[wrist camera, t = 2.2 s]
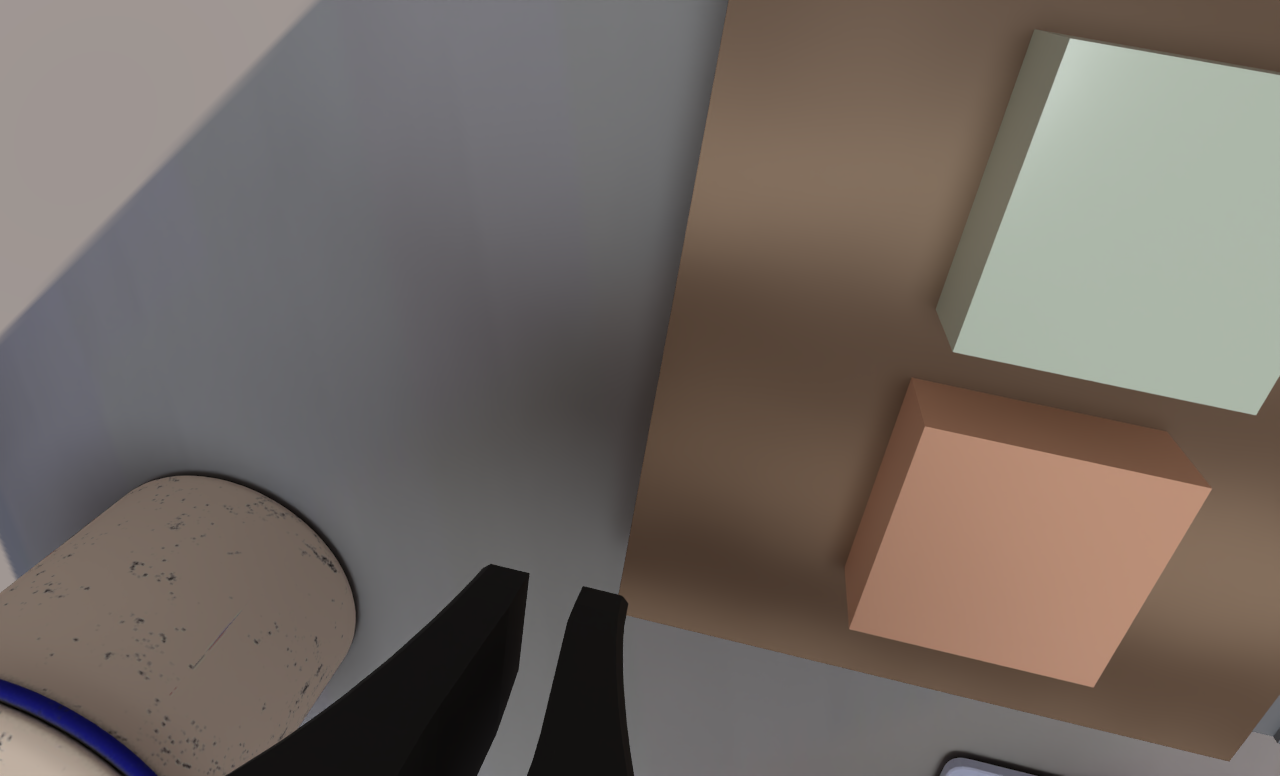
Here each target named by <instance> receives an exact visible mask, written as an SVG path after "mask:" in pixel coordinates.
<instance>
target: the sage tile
mask: <svg viewBox="0 0 1280 776" xmlns="http://www.w3.org/2000/svg"><path fill="white" fill-rule="evenodd" d="M936 311H937V314H938V316H939V319H940V321H941V324H942V326H943V329H944V331H945V334H946V336H947V339H948V341H949V344H950V346H951V349H952V351H953V352H955V353H960V354H965V355H969V356H974V357H979V358H984V359H989V360H993V361H998V362H1003V363H1008V364H1013V365H1017V366H1022V367H1027V368H1032V369H1036V370H1041V371H1046V372H1051V373H1056V374H1060V375H1065V376H1070V377H1075V378H1080V379H1084V380H1089V381H1094V382H1099V383H1103V384H1108V385H1113V386H1118V387H1123V388H1127V389H1132V390H1137V391H1142V392H1147V393H1151V394H1156V395H1161V396H1166V397H1170V398H1175V399H1180V400H1185V401H1190V402H1194V403H1199V404H1204V405H1209V406H1214V407H1218V408H1223V409H1228V410H1233V411H1237V412H1242V413H1247V414H1252V415H1256V414H1257V413H1258V411H1259V409H1260V408H1261V406H1262V404H1263V403H1264V401H1265V399H1266V398H1267V396H1268V394H1269V393H1270V391H1271V389H1272V388H1273V386H1274V384H1275V383H1276V381H1277V379H1278V378H1279V376H1280V72H1275V71H1270V70H1264V69H1258V68H1253V67H1247V66H1241V65H1235V64H1230V63H1224V62H1218V61H1213V60H1207V59H1201V58H1196V57H1190V56H1184V55H1179V54H1173V53H1167V52H1161V51H1156V50H1150V49H1144V48H1139V47H1133V46H1127V45H1122V44H1116V43H1110V42H1105V41H1099V40H1093V39H1087V38H1082V37H1076V36H1070V35H1065V34H1059V33H1053V32H1048V31H1042V30H1036V29H1034V32H1033V35H1032V38H1031V41H1030V43H1029V46H1028V49H1027V52H1026V55H1025V58H1024V60H1023V63H1022V66H1021V69H1020V72H1019V75H1018V77H1017V80H1016V83H1015V86H1014V89H1013V92H1012V94H1011V97H1010V100H1009V103H1008V106H1007V109H1006V111H1005V114H1004V117H1003V120H1002V123H1001V126H1000V128H999V131H998V134H997V137H996V140H995V143H994V145H993V148H992V151H991V154H990V157H989V160H988V162H987V165H986V168H985V171H984V174H983V177H982V179H981V182H980V185H979V188H978V191H977V194H976V196H975V199H974V202H973V205H972V208H971V210H970V213H969V216H968V219H967V222H966V225H965V227H964V230H963V233H962V236H961V239H960V242H959V244H958V247H957V250H956V253H955V256H954V259H953V261H952V264H951V267H950V270H949V273H948V276H947V278H946V281H945V284H944V287H943V290H942V293H941V295H940V298H939V301H938V304H937V307H936Z"/></svg>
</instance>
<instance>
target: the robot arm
mask: <svg viewBox="0 0 1280 776" xmlns="http://www.w3.org/2000/svg"><path fill="white" fill-rule="evenodd" d="M528 581H529V573H526V572H522V571H518V570H513V569H509V568H505V567H501V566H497V565H493V564H490V565H488V566H486V567H484V568H483V569H482V570H481V571H480V572H479V573H478V574H477V575H476V577H475V578H474V579H473V580H472V581H471V582H470V583H469V584H468V585H467V586H466V587H465V588H464V589H463V590H462V591H461V592H460V593H459V594H458V595H457V596H456V597H455V598H454V599H453V600H452V601H451V602H450V603H449V604H448V605H447V606H446V607H445V608H444V609H443V610H442V611H441V612H440V613H439V614H438V615H437V616H436V617H435V618H434V619H433V620H432V621H431V622H429V623H428V624H427V625H426V626H425V627H424V628H423V629H422V630H421V631H420V632H418V633H417V634H416V635H415V636H414V637H413V638H412V639H411V640H409V641H408V642H407V643H406V644H405V645H404V646H403V647H402V648H401V649H399V650H398V651H397V652H396V653H395V654H394V655H393V656H392V657H390V658H389V659H388V660H387V661H386V662H384V663H383V664H382V665H381V666H380V667H378V668H377V669H376V670H375V671H373V672H372V673H371V674H370V675H368V676H367V677H366V678H365V679H363V680H362V681H361V682H360V683H358V684H357V685H356V686H355V687H353V688H352V689H351V690H350V691H349V692H347V693H346V694H345V695H344V696H342V697H341V698H340V699H338V700H337V701H336V702H334V703H333V704H332V705H330V706H329V707H328V708H326V709H325V710H324V711H322V712H321V713H319V714H318V715H317V716H315V717H314V718H313V719H311V720H310V721H308V722H307V723H306V724H304V725H303V726H301V727H300V728H298V729H297V730H295V731H294V732H292V733H291V734H290V735H288V736H287V737H285V738H284V739H282V740H281V741H279V742H278V743H276V744H275V745H273V746H272V747H270V748H269V749H267V750H265V751H264V752H262V753H261V754H259V755H257V756H256V757H254V758H253V759H251V760H250V761H248V762H246V763H245V764H243V765H242V766H240V767H238V768H237V769H235V770H234V771H232V772H230V773H229V774H227V775H225V776H477V774H478V772H479V770H480V768H481V766H482V764H483V762H484V759H485V757H486V755H487V753H488V751H489V749H490V746H491V744H492V742H493V740H494V738H495V736H496V733H497V731H498V728H499V725H500V722H501V719H502V716H503V713H504V711H505V708H506V705H507V702H508V699H509V696H510V693H511V690H512V687H513V684H514V681H515V678H516V675H517V672H518V669H519V660H520V652H521V643H522V634H523V625H524V616H525V608H526V599H527V590H528ZM627 609H628V602H627V601H626V600H625V598H624V597H623V596H621V595H617V594H613V593H609V592H605V591H601V590H597V589H592V588H588V587H584V586H583V587H582V589H581V592H580V594H579V596H578V598H577V600H576V602H575V605H574V607H573V610H572V612H571V614H570V617H569V619H568V622H567V626H566V630H565V634H564V638H563V643H562V647H561V651H560V655H559V659H558V663H557V667H556V672H555V676H554V680H553V684H552V688H551V693H550V697H549V701H548V705H547V709H546V713H545V718H544V722H543V726H542V730H541V734H540V738H539V741H538V744H537V748H536V751H535V754H534V758H533V761H532V764H531V766H530V769H529V772H528V774H527V776H634V772H633V766H632V759H631V753H630V746H629V738H628V730H627V721H626V709H625V697H624V684H623V634H624V624H625V619H626V614H627ZM940 776H1036V775H1032V774H1028V773H1023V772H1019V771H1015V770H1011V769H1007V768H1003V767H999V766H995V765H991V764H987V763H983V762H979V761H975V760H971V759H967V758H954V759H952V760H950V761H948V762H947V763H946V764H945V766H944V768H943V770H942V772H941V774H940Z"/></svg>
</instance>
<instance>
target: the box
mask: <svg viewBox="0 0 1280 776" xmlns="http://www.w3.org/2000/svg"><path fill="white" fill-rule="evenodd" d="M1252 732H1257V733H1261V734H1265V735H1269V736H1273V737H1274V738H1275V740H1276V742H1277V743H1279V744H1280V695H1279V696H1278V698H1277V699H1276V700H1275V702H1274V703H1273V704H1272V706H1271V707H1270V708H1269V710H1268V711H1267V712H1266V714H1265V715H1264V716H1263V717H1262V719H1261V720H1260V721H1259V723H1258V724H1257V725H1256V727H1255V728H1254V729H1253V731H1252Z"/></svg>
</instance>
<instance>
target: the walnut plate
mask: <svg viewBox="0 0 1280 776" xmlns="http://www.w3.org/2000/svg"><path fill="white" fill-rule="evenodd" d="M1034 29H1036V30H1042V31H1048V32H1053V33H1059V34H1065V35H1070V36H1076V37H1082V38H1087V39H1093V40H1099V41H1105V42H1110V43H1116V44H1122V45H1127V46H1133V47H1139V48H1144V49H1150V50H1156V51H1161V52H1167V53H1173V54H1179V55H1184V56H1190V57H1196V58H1201V59H1207V60H1213V61H1218V62H1224V63H1230V64H1235V65H1241V66H1247V67H1253V68H1258V69H1264V70H1270V71H1275V72H1280V0H729V1H728V6H727V12H726V17H725V23H724V28H723V33H722V39H721V44H720V50H719V55H718V60H717V66H716V71H715V77H714V82H713V87H712V93H711V98H710V104H709V109H708V115H707V120H706V125H705V131H704V136H703V142H702V147H701V152H700V158H699V163H698V169H697V174H696V179H695V185H694V190H693V196H692V201H691V206H690V212H689V217H688V223H687V228H686V233H685V239H684V244H683V250H682V255H681V260H680V266H679V271H678V277H677V282H676V287H675V293H674V298H673V304H672V309H671V314H670V320H669V325H668V331H667V336H666V341H665V347H664V352H663V358H662V363H661V368H660V374H659V379H658V385H657V390H656V395H655V401H654V406H653V412H652V417H651V422H650V428H649V433H648V439H647V444H646V449H645V455H644V460H643V466H642V471H641V476H640V482H639V487H638V493H637V498H636V503H635V509H634V514H633V520H632V525H631V530H630V536H629V541H628V547H627V552H626V557H625V563H624V568H623V574H622V579H621V584H620V590H619V595H621V596H623V597H624V598H625V600H626V601H627V602H628V609H627V614H626V615H628V616H632V617H636V618H640V619H644V620H648V621H652V622H657V623H661V624H665V625H669V626H673V627H677V628H681V629H685V630H689V631H694V632H698V633H702V634H706V635H710V636H714V637H718V638H722V639H727V640H731V641H735V642H739V643H743V644H747V645H751V646H755V647H760V648H764V649H768V650H772V651H776V652H780V653H784V654H788V655H793V656H797V657H801V658H805V659H809V660H813V661H817V662H821V663H825V664H830V665H834V666H838V667H842V668H846V669H850V670H854V671H858V672H863V673H867V674H871V675H875V676H879V677H883V678H887V679H891V680H896V681H900V682H904V683H908V684H912V685H916V686H920V687H924V688H929V689H933V690H937V691H941V692H945V693H949V694H953V695H957V696H961V697H966V698H970V699H974V700H978V701H982V702H986V703H990V704H994V705H999V706H1003V707H1007V708H1011V709H1015V710H1019V711H1023V712H1027V713H1032V714H1036V715H1040V716H1044V717H1048V718H1052V719H1056V720H1060V721H1065V722H1069V723H1073V724H1077V725H1081V726H1085V727H1089V728H1093V729H1098V730H1102V731H1106V732H1110V733H1114V734H1118V735H1122V736H1126V737H1130V738H1135V739H1139V740H1143V741H1147V742H1151V743H1155V744H1159V745H1163V746H1168V747H1172V748H1176V749H1180V750H1184V751H1188V752H1192V753H1196V754H1201V755H1205V756H1209V757H1213V758H1217V759H1221V760H1225V761H1230V760H1231V758H1232V757H1233V756H1234V754H1235V753H1236V752H1237V750H1238V749H1239V748H1240V747H1241V745H1242V744H1243V743H1244V741H1245V740H1246V739H1247V737H1248V736H1249V735H1250V733H1251V732H1252V731H1253V729H1254V728H1255V727H1256V725H1257V724H1258V723H1259V721H1260V720H1261V719H1262V717H1263V716H1264V715H1265V714H1266V712H1267V711H1268V710H1269V708H1270V707H1271V706H1272V704H1273V703H1274V702H1275V700H1276V699H1277V698H1278V696H1279V695H1280V376H1279V378H1278V379H1277V381H1276V383H1275V384H1274V386H1273V388H1272V389H1271V391H1270V393H1269V394H1268V396H1267V398H1266V399H1265V401H1264V403H1263V404H1262V406H1261V408H1260V409H1259V411H1258V413H1257V414H1256V415H1252V414H1247V413H1242V412H1237V411H1233V410H1228V409H1223V408H1218V407H1214V406H1209V405H1204V404H1199V403H1194V402H1190V401H1185V400H1180V399H1175V398H1170V397H1166V396H1161V395H1156V394H1151V393H1147V392H1142V391H1137V390H1132V389H1127V388H1123V387H1118V386H1113V385H1108V384H1103V383H1099V382H1094V381H1089V380H1084V379H1080V378H1075V377H1070V376H1065V375H1060V374H1056V373H1051V372H1046V371H1041V370H1036V369H1032V368H1027V367H1022V366H1017V365H1013V364H1008V363H1003V362H998V361H993V360H989V359H984V358H979V357H974V356H969V355H965V354H960V353H955V352H953V351H952V349H951V346H950V344H949V341H948V339H947V336H946V334H945V331H944V329H943V326H942V324H941V321H940V319H939V316H938V314H937V311H936V307H937V304H938V301H939V298H940V295H941V293H942V290H943V287H944V284H945V281H946V278H947V276H948V273H949V270H950V267H951V264H952V261H953V259H954V256H955V253H956V250H957V247H958V244H959V242H960V239H961V236H962V233H963V230H964V227H965V225H966V222H967V219H968V216H969V213H970V210H971V208H972V205H973V202H974V199H975V196H976V194H977V191H978V188H979V185H980V182H981V179H982V177H983V174H984V171H985V168H986V165H987V162H988V160H989V157H990V154H991V151H992V148H993V145H994V143H995V140H996V137H997V134H998V131H999V128H1000V126H1001V123H1002V120H1003V117H1004V114H1005V111H1006V109H1007V106H1008V103H1009V100H1010V97H1011V94H1012V92H1013V89H1014V86H1015V83H1016V80H1017V77H1018V75H1019V72H1020V69H1021V66H1022V63H1023V60H1024V58H1025V55H1026V52H1027V49H1028V46H1029V43H1030V41H1031V38H1032V35H1033V32H1034ZM911 378H916V379H921V380H926V381H931V382H935V383H940V384H945V385H949V386H954V387H959V388H964V389H968V390H973V391H978V392H982V393H987V394H992V395H997V396H1001V397H1006V398H1011V399H1015V400H1020V401H1025V402H1030V403H1034V404H1039V405H1044V406H1048V407H1053V408H1058V409H1062V410H1067V411H1072V412H1077V413H1081V414H1086V415H1091V416H1095V417H1100V418H1105V419H1110V420H1114V421H1119V422H1124V423H1128V424H1133V425H1138V426H1143V427H1147V428H1152V429H1157V430H1161V431H1166V432H1168V434H1169V435H1170V436H1171V437H1172V439H1173V440H1174V441H1175V442H1176V444H1177V445H1178V446H1179V447H1180V449H1181V450H1182V451H1183V452H1184V454H1185V455H1186V456H1187V457H1188V459H1189V460H1190V461H1191V463H1192V464H1193V465H1194V466H1195V468H1196V469H1197V470H1198V471H1199V473H1200V474H1201V475H1202V476H1203V478H1204V479H1205V480H1206V481H1207V483H1208V484H1209V485H1210V486H1211V488H1212V490H1211V492H1210V493H1209V495H1208V497H1207V498H1206V500H1205V502H1204V503H1203V505H1202V507H1201V508H1200V510H1199V512H1198V513H1197V515H1196V517H1195V518H1194V520H1193V522H1192V523H1191V525H1190V527H1189V528H1188V530H1187V532H1186V533H1185V535H1184V537H1183V538H1182V540H1181V542H1180V543H1179V545H1178V547H1177V548H1176V550H1175V552H1174V554H1173V555H1172V557H1171V559H1170V560H1169V562H1168V564H1167V565H1166V567H1165V569H1164V570H1163V572H1162V574H1161V575H1160V577H1159V579H1158V580H1157V582H1156V584H1155V585H1154V587H1153V589H1152V590H1151V592H1150V594H1149V595H1148V597H1147V599H1146V600H1145V602H1144V604H1143V605H1142V607H1141V609H1140V610H1139V612H1138V614H1137V616H1136V617H1135V619H1134V621H1133V622H1132V624H1131V626H1130V627H1129V629H1128V631H1127V632H1126V634H1125V636H1124V637H1123V639H1122V641H1121V642H1120V644H1119V646H1118V647H1117V649H1116V651H1115V652H1114V654H1113V656H1112V657H1111V659H1110V661H1109V662H1108V664H1107V666H1106V667H1105V669H1104V671H1103V672H1102V674H1101V676H1100V677H1099V679H1098V681H1097V683H1096V684H1095V686H1094V688H1093V687H1089V686H1085V685H1081V684H1077V683H1072V682H1068V681H1064V680H1060V679H1056V678H1052V677H1047V676H1043V675H1039V674H1035V673H1031V672H1026V671H1022V670H1018V669H1014V668H1010V667H1005V666H1001V665H997V664H993V663H989V662H984V661H980V660H976V659H972V658H968V657H964V656H959V655H955V654H951V653H947V652H943V651H938V650H934V649H930V648H926V647H922V646H917V645H913V644H909V643H905V642H901V641H896V640H892V639H888V638H884V637H880V636H876V635H871V634H867V633H863V632H859V631H855V630H850V629H849V622H848V608H847V595H846V582H845V568H844V567H845V565H846V562H847V559H848V556H849V553H850V550H851V548H852V545H853V542H854V539H855V536H856V533H857V531H858V528H859V525H860V522H861V519H862V516H863V514H864V511H865V508H866V505H867V502H868V499H869V497H870V494H871V491H872V488H873V485H874V482H875V480H876V477H877V474H878V471H879V468H880V465H881V463H882V460H883V457H884V454H885V451H886V448H887V446H888V443H889V440H890V437H891V434H892V431H893V429H894V426H895V423H896V420H897V417H898V414H899V412H900V409H901V406H902V403H903V400H904V397H905V395H906V392H907V389H908V386H909V383H910V380H911Z"/></svg>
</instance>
